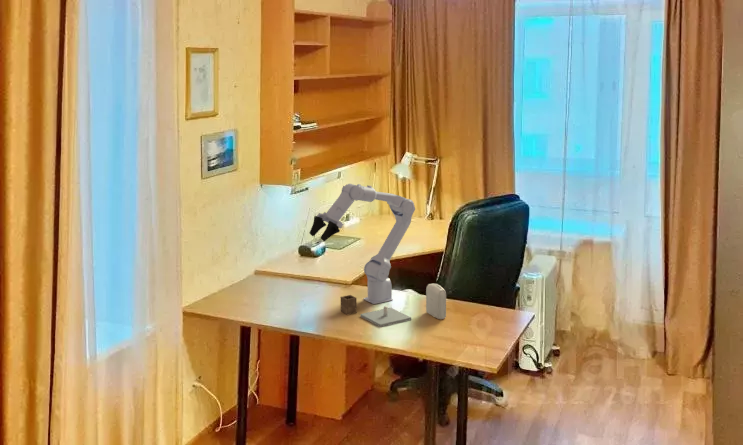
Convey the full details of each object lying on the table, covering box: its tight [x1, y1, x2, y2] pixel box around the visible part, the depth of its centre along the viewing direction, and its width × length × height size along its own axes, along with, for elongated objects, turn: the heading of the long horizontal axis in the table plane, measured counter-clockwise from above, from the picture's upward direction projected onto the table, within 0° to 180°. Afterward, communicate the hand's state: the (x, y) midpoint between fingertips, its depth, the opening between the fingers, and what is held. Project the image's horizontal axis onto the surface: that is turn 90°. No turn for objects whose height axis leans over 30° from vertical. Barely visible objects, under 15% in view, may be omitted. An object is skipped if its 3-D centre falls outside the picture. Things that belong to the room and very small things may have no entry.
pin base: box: [359, 305, 412, 328], centre depth 321 cm, size 14×14×5 cm
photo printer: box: [425, 283, 447, 320], centre depth 324 cm, size 10×4×12 cm, turn 26°
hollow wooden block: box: [340, 294, 358, 316], centre depth 329 cm, size 4×4×6 cm
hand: (316, 237), depth 321 cm, fingers open, 7 cm apart
